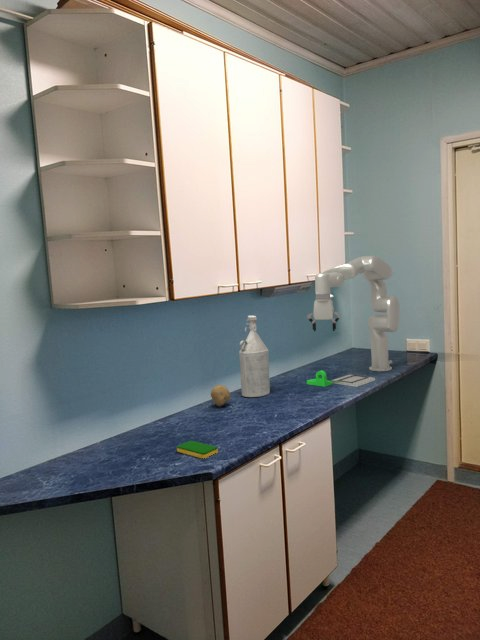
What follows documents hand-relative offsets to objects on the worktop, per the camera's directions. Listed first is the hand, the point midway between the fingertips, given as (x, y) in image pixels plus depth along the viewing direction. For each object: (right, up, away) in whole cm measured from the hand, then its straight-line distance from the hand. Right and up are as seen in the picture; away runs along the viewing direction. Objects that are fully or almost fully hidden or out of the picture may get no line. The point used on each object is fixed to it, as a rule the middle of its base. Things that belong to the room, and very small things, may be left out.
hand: (324, 330), depth 261 cm
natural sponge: (-52, -35, -23) cm, 67 cm away
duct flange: (+16, -27, +6) cm, 32 cm away
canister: (-35, -32, -6) cm, 48 cm away
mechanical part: (-2, -29, +6) cm, 29 cm away
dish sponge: (-58, -42, -82) cm, 109 cm away
